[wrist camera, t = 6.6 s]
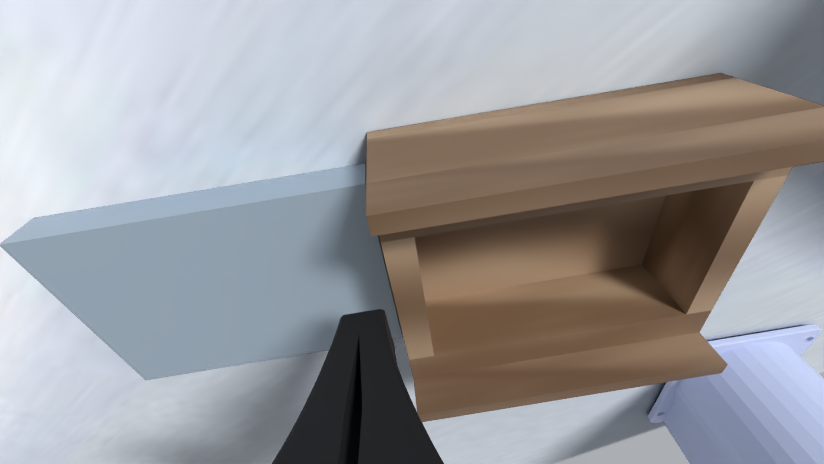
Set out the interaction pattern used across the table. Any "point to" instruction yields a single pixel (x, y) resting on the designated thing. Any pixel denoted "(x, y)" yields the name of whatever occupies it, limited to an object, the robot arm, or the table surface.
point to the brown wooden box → (576, 235)
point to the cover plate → (216, 270)
